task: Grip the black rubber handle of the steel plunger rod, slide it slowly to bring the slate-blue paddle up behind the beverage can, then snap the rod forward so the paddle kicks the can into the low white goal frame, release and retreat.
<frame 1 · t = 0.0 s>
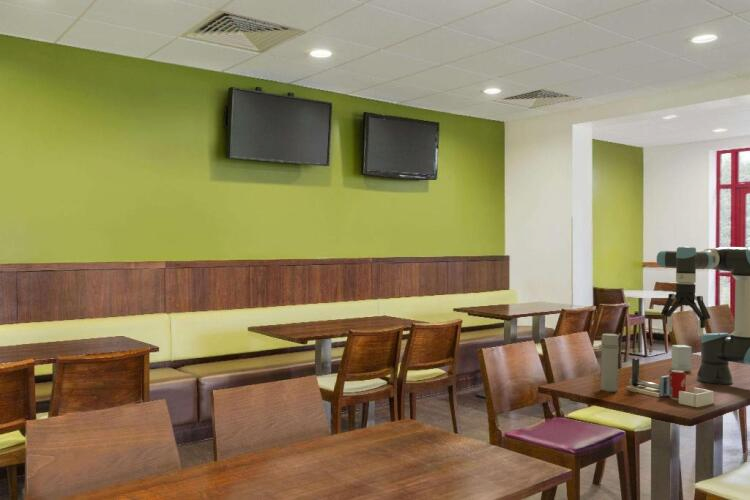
hand: (684, 333, 274), 28 cm above the table, fingers open, 13 cm apart
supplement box: (681, 370, 339), on the table
panel: (647, 392, 287), on the table
water bottle: (606, 390, 291), on the table
goal: (695, 403, 269), on the table
beverage can: (677, 399, 276), on the table
rod: (648, 375, 287), point 7 cm above the table, slide at 0.0 cm
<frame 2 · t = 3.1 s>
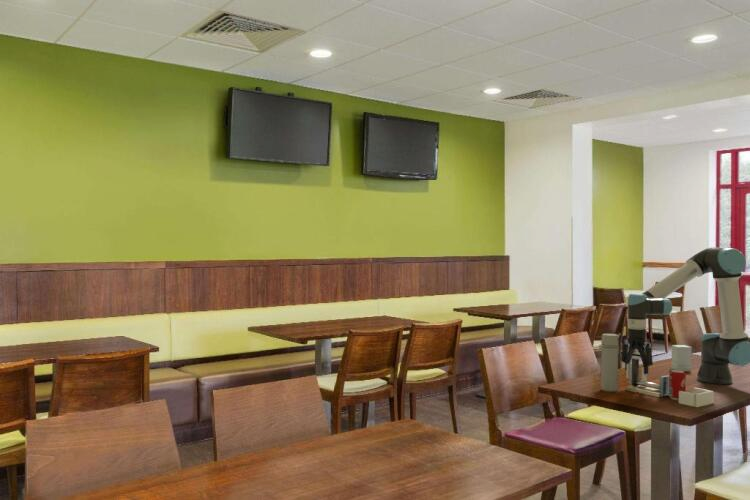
hand: (636, 379, 292), 5 cm above the table, fingers open, 7 cm apart
rod: (648, 375, 287), point 7 cm above the table, slide at -0.1 cm, touching gripper
everything else where it was.
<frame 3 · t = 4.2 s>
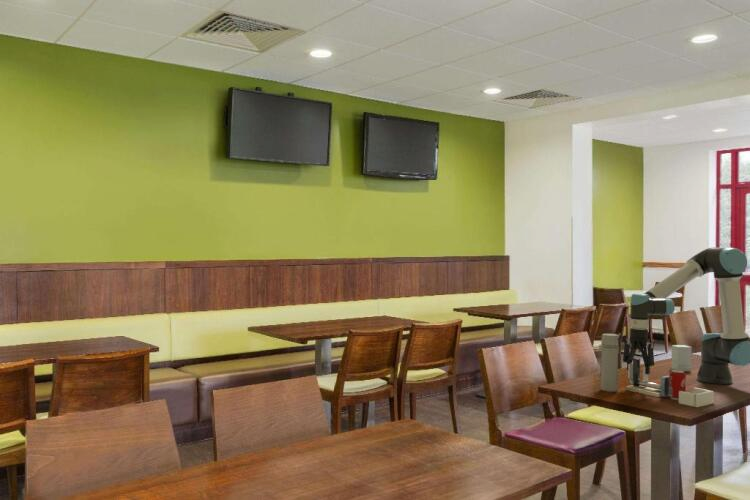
hand: (637, 379, 291), 5 cm above the table, fingers closed on rod, 7 cm apart
rod: (649, 376, 286), point 7 cm above the table, slide at 0.5 cm, touching gripper
everything else where it was.
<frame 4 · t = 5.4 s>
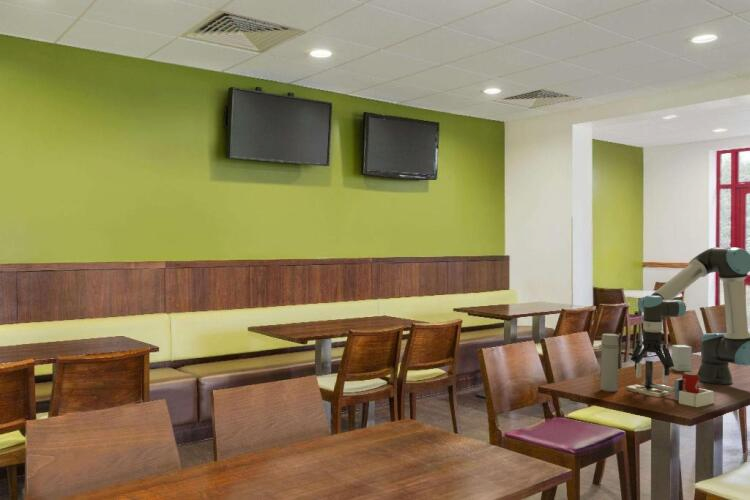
hand: (651, 380, 286), 6 cm above the table, fingers open, 12 cm apart
beverage can: (690, 402, 271), on the table
rod: (662, 378, 281), point 7 cm above the table, slide at 6.7 cm
everything else where it was.
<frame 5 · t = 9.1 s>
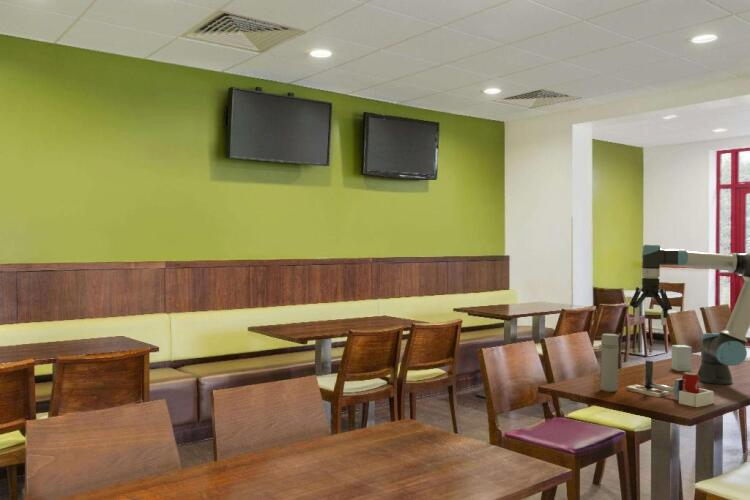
hand: (649, 323, 303), 29 cm above the table, fingers open, 13 cm apart
nothing on the table moved.
at the end: beverage can inside the target area (2.2 cm from its centre), on the table; beverage can tilted 0°; rod slide at 6.7 cm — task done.
